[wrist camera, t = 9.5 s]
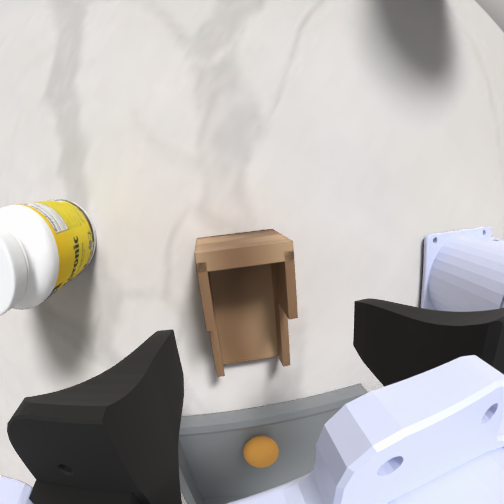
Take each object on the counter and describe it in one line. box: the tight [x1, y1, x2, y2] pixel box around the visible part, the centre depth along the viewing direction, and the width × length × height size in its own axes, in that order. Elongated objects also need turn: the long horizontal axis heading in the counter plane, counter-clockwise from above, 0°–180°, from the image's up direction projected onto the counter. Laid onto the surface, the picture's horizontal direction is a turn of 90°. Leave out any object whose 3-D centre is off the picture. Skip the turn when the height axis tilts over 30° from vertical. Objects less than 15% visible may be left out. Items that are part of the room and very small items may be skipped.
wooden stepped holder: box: [195, 229, 298, 377], centre depth 19 cm, size 5×9×5 cm, turn 6°
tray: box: [178, 384, 368, 504], centre depth 24 cm, size 18×14×4 cm
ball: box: [243, 436, 279, 468], centre depth 22 cm, size 3×3×3 cm
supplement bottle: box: [0, 200, 96, 315], centre depth 14 cm, size 5×5×10 cm
